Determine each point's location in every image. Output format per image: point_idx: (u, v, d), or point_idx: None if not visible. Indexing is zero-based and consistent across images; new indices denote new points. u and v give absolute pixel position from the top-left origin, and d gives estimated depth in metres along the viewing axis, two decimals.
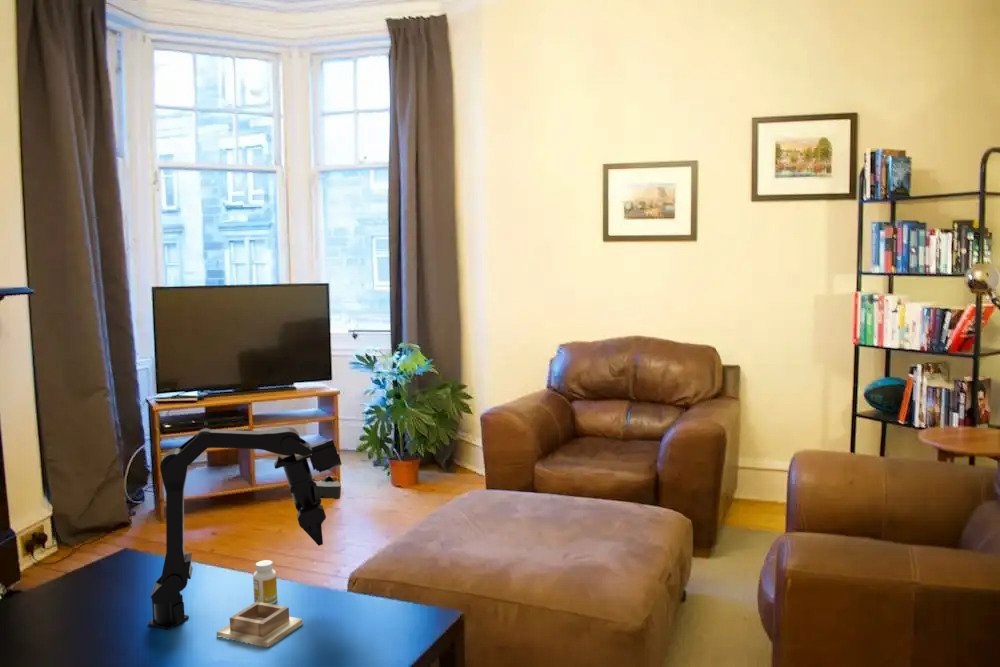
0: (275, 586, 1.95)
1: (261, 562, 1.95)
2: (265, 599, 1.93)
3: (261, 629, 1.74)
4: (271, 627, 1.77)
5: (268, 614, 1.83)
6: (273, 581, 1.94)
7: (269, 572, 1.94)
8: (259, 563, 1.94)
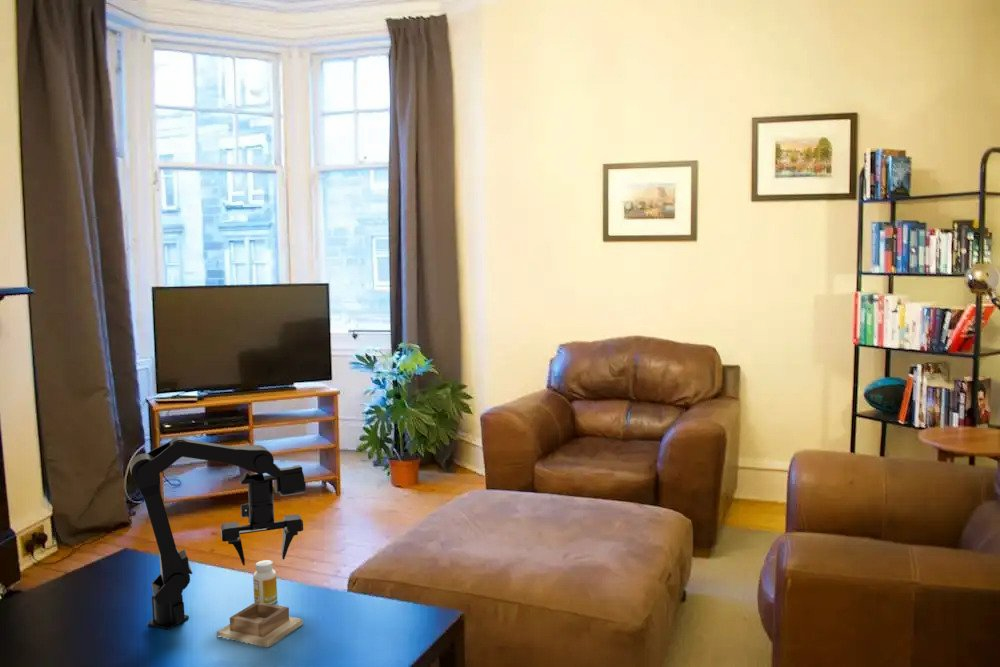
0: (275, 586, 1.95)
1: (261, 562, 1.95)
2: (265, 599, 1.93)
3: (261, 629, 1.74)
4: (271, 627, 1.77)
5: (268, 614, 1.83)
6: (273, 581, 1.94)
7: (269, 572, 1.94)
8: (259, 563, 1.94)
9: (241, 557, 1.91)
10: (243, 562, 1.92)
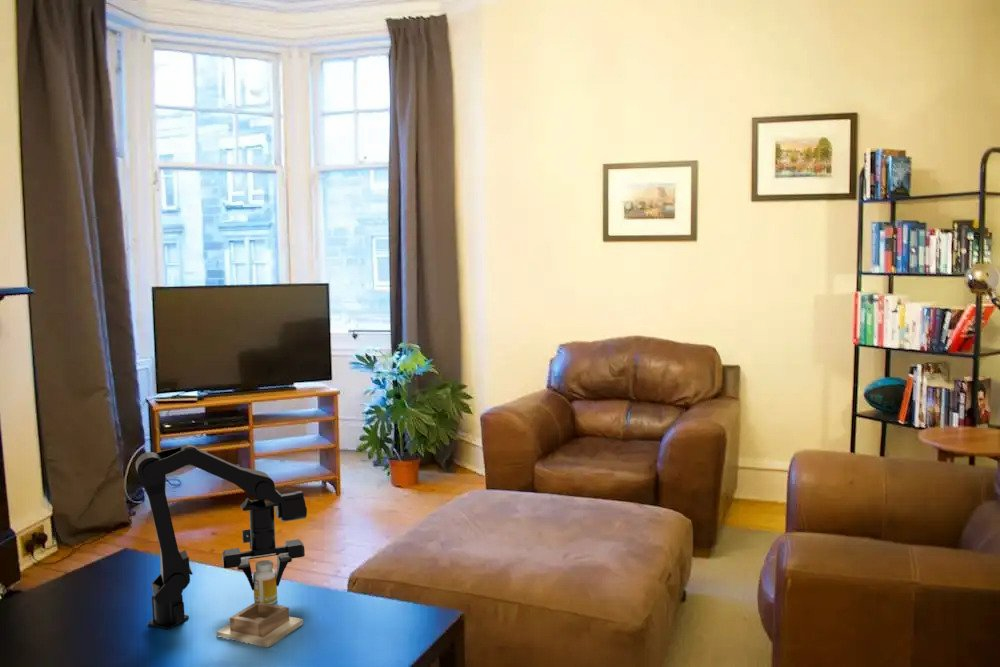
0: (275, 586, 1.95)
1: (261, 562, 1.95)
2: (265, 599, 1.93)
3: (261, 629, 1.74)
4: (271, 627, 1.77)
5: (268, 614, 1.83)
6: (273, 581, 1.94)
7: (269, 572, 1.94)
8: (259, 563, 1.94)
9: (250, 582, 1.92)
10: (252, 587, 1.93)
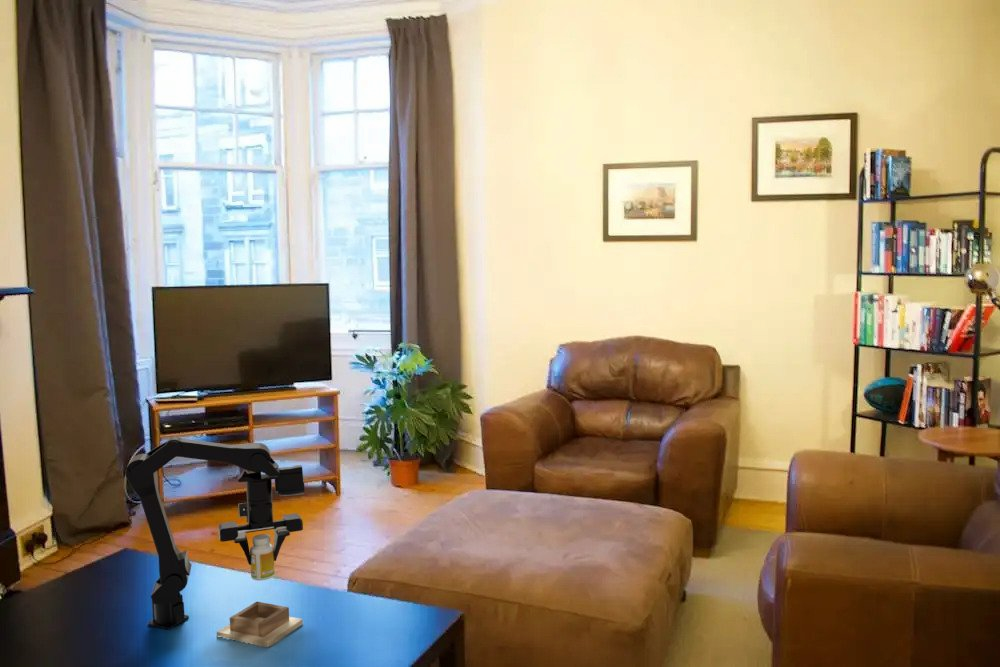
0: (272, 560, 1.90)
1: (258, 536, 1.90)
2: (262, 574, 1.88)
3: (261, 629, 1.74)
4: (271, 627, 1.77)
5: (268, 614, 1.83)
6: (270, 555, 1.89)
7: (266, 546, 1.89)
8: (256, 537, 1.90)
9: (247, 556, 1.88)
10: (249, 561, 1.88)
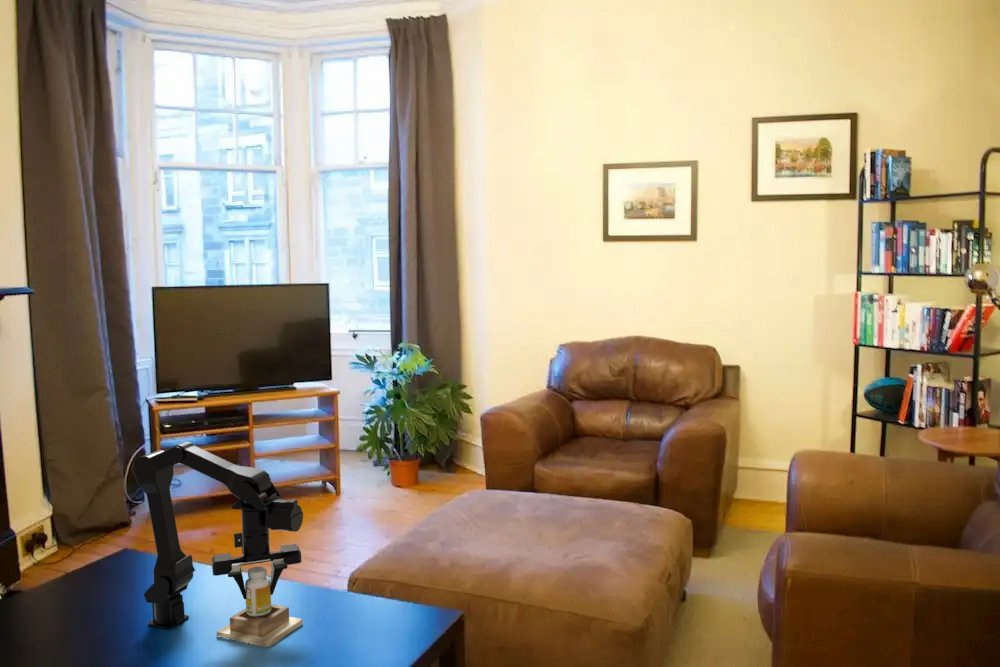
0: (269, 595, 1.79)
1: (254, 568, 1.79)
2: (257, 609, 1.77)
3: (261, 629, 1.74)
4: (271, 627, 1.77)
5: (268, 614, 1.83)
6: (267, 589, 1.78)
7: (262, 579, 1.78)
8: (252, 569, 1.79)
9: (242, 590, 1.77)
10: (244, 596, 1.77)
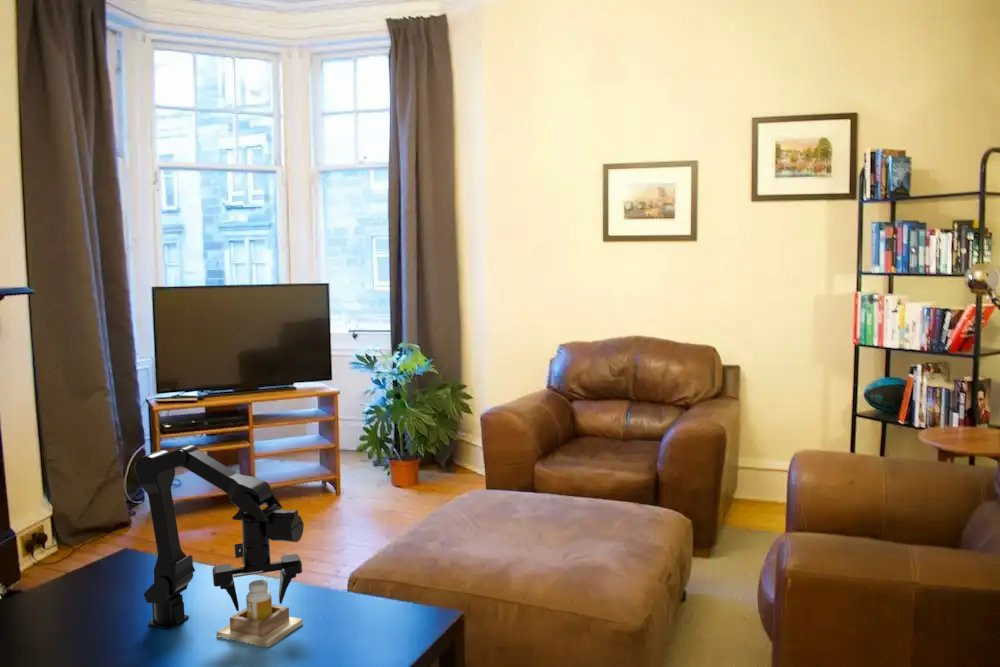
0: (270, 608, 1.79)
1: (255, 582, 1.80)
2: None
3: (261, 629, 1.74)
4: (271, 627, 1.77)
5: None
6: (268, 603, 1.78)
7: (264, 593, 1.78)
8: (253, 583, 1.79)
9: (235, 602, 1.76)
10: (237, 608, 1.77)
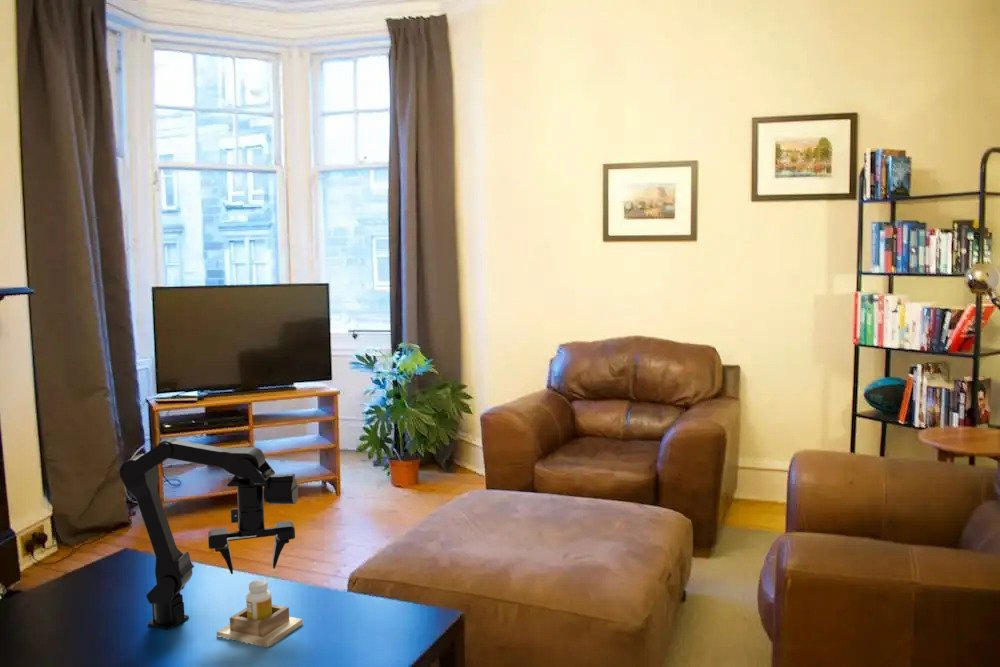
0: (270, 608, 1.79)
1: (255, 582, 1.80)
2: None
3: (261, 629, 1.74)
4: (271, 627, 1.77)
5: None
6: (268, 603, 1.78)
7: (264, 593, 1.78)
8: (253, 583, 1.79)
9: (229, 565, 1.81)
10: (231, 570, 1.82)
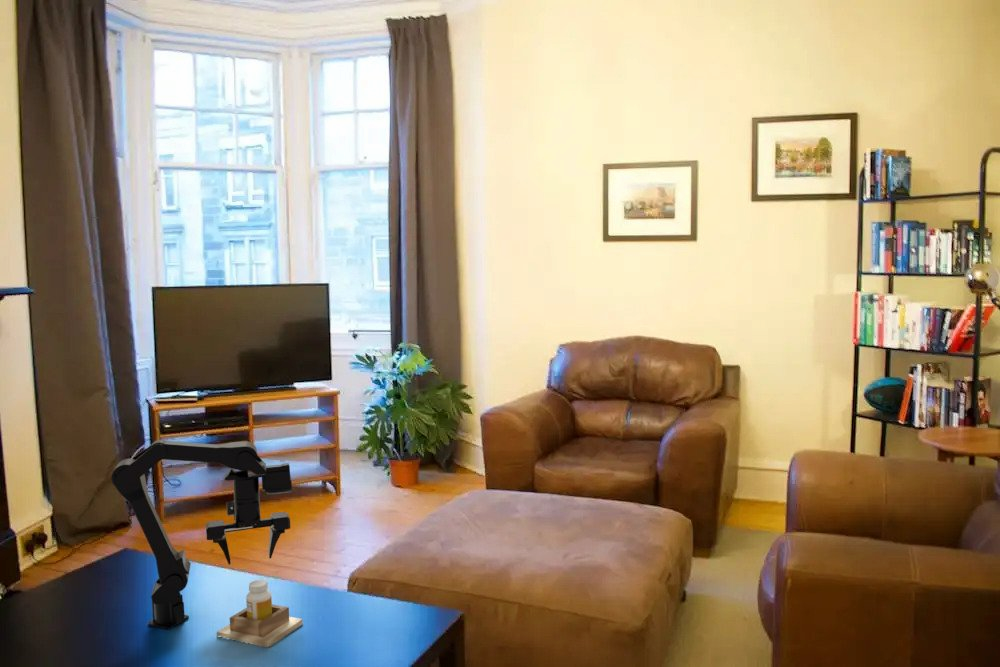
0: (270, 608, 1.79)
1: (255, 582, 1.80)
2: None
3: (261, 629, 1.74)
4: (271, 627, 1.77)
5: None
6: (268, 603, 1.78)
7: (264, 593, 1.78)
8: (253, 583, 1.79)
9: (226, 556, 1.86)
10: (229, 561, 1.87)
